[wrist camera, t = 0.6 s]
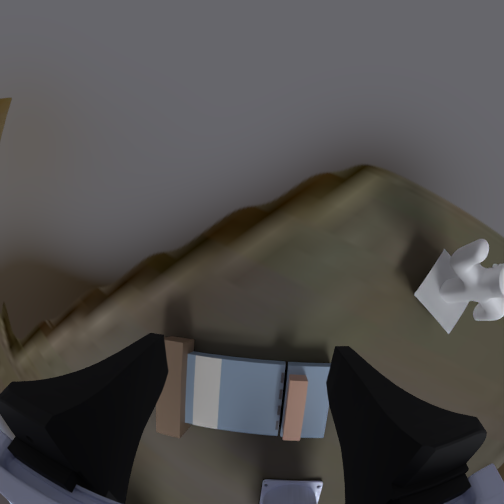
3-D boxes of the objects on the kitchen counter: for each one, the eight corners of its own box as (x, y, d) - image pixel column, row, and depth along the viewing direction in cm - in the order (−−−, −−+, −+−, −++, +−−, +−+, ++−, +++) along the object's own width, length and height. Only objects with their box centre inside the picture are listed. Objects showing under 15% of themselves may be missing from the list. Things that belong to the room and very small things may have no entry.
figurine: (438, 337, 28) (515, 346, 13) (395, 290, 30) (466, 273, 15) (465, 295, 28) (541, 282, 14) (425, 249, 31) (496, 211, 16)
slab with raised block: (321, 430, 27) (326, 448, 22) (280, 429, 28) (279, 447, 23) (330, 363, 29) (338, 372, 24) (288, 361, 30) (288, 370, 25)
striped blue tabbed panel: (276, 438, 28) (275, 452, 24) (168, 421, 30) (156, 432, 26) (286, 348, 30) (287, 354, 26) (171, 336, 32) (158, 338, 28)
